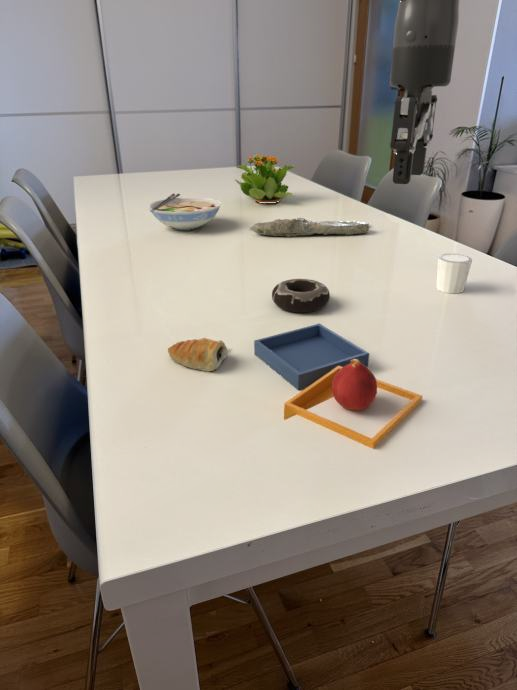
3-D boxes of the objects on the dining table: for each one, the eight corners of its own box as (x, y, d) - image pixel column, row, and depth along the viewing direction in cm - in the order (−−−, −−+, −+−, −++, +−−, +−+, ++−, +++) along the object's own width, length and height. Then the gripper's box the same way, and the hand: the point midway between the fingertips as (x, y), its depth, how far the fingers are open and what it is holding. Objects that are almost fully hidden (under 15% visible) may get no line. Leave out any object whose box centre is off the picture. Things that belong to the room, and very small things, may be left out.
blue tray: (319, 336, 91) (319, 323, 90) (368, 367, 81) (369, 353, 80) (254, 354, 85) (253, 340, 84) (298, 390, 75) (298, 375, 74)
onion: (352, 394, 73) (356, 344, 69) (383, 413, 68) (389, 360, 65) (322, 408, 70) (324, 356, 66) (352, 429, 65) (357, 374, 62)
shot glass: (456, 296, 107) (462, 264, 104) (427, 288, 112) (431, 257, 109) (472, 288, 111) (478, 257, 108) (443, 281, 116) (448, 250, 113)
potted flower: (311, 204, 193) (313, 154, 185) (258, 212, 182) (257, 160, 174) (275, 194, 212) (275, 149, 204) (224, 200, 201) (222, 153, 193)
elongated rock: (371, 241, 151) (364, 234, 160) (374, 222, 149) (366, 217, 158) (253, 237, 149) (252, 230, 158) (253, 218, 147) (252, 212, 156)
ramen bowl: (211, 239, 150) (209, 210, 147) (137, 236, 154) (134, 208, 150) (230, 219, 172) (229, 194, 169) (165, 217, 176) (163, 193, 172)
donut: (275, 292, 111) (276, 274, 109) (330, 295, 109) (331, 277, 107) (267, 313, 100) (267, 294, 99) (327, 317, 99) (328, 297, 97)
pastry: (161, 366, 82) (159, 344, 80) (179, 347, 88) (177, 327, 86) (215, 374, 80) (214, 352, 78) (230, 355, 85) (230, 334, 84)
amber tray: (337, 380, 77) (338, 365, 76) (419, 411, 70) (422, 395, 69) (283, 419, 69) (284, 403, 67) (371, 460, 61) (373, 442, 60)
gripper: (445, 39, 57) (425, 189, 64) (463, 46, 68) (445, 173, 75) (378, 42, 60) (367, 185, 67) (406, 48, 71) (394, 170, 79)
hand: (408, 178), depth 71 cm, fingers open, 8 cm apart
